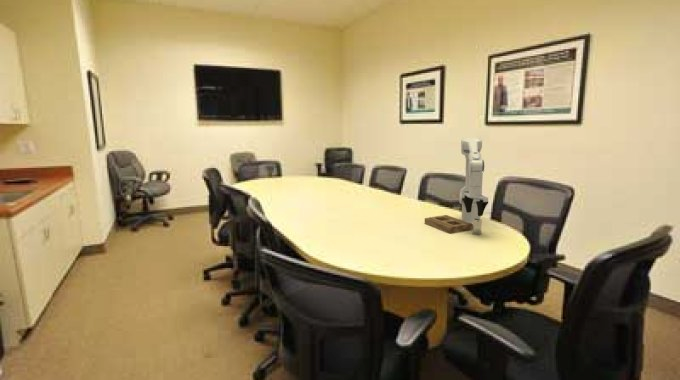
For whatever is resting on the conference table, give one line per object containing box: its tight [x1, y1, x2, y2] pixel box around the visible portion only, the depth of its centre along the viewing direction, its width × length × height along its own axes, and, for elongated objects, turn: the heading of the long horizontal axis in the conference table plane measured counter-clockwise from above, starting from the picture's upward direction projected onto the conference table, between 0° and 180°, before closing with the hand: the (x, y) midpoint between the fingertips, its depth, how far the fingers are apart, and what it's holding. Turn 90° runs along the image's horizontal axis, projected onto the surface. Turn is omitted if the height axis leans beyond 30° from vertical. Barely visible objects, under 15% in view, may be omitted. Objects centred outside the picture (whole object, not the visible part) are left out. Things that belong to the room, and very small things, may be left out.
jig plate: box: [424, 214, 473, 235], centre depth 191 cm, size 14×20×3 cm
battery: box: [471, 218, 483, 236], centre depth 178 cm, size 4×4×7 cm
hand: (474, 214), depth 177 cm, fingers open, 7 cm apart
